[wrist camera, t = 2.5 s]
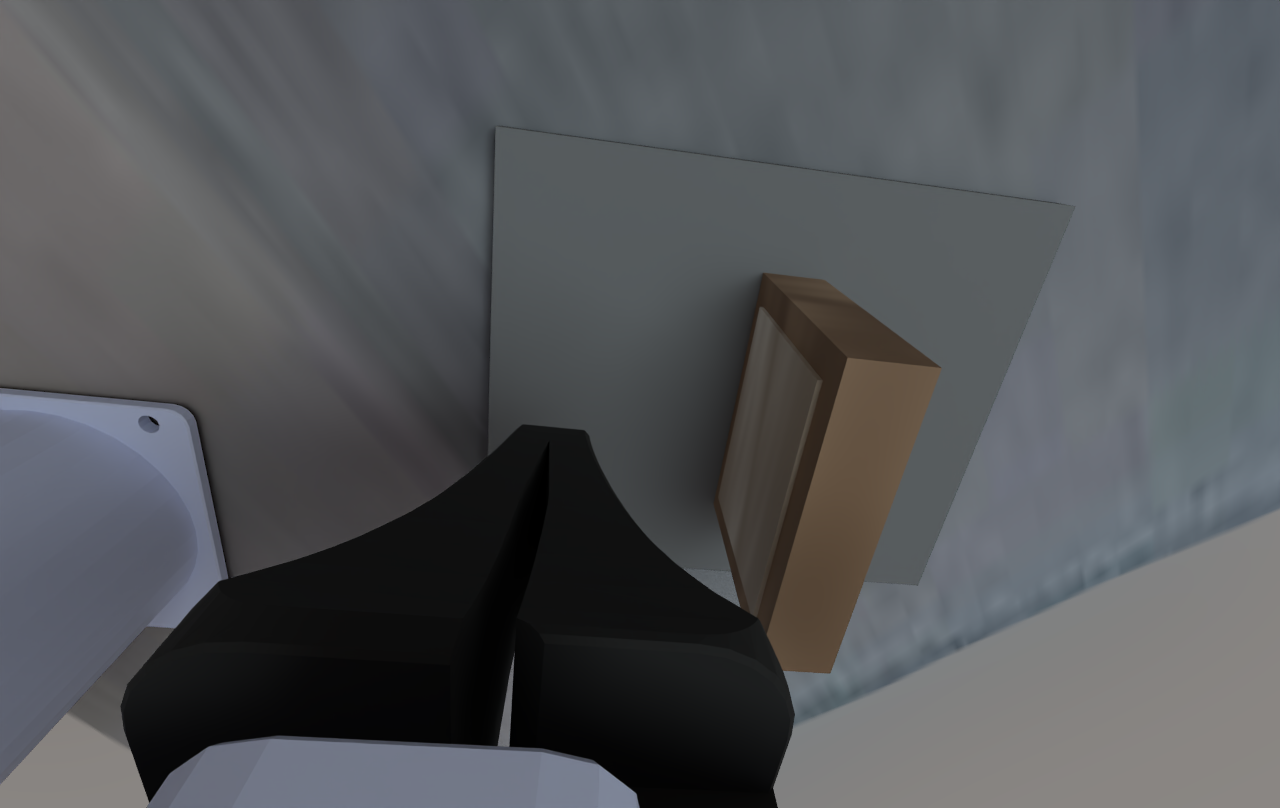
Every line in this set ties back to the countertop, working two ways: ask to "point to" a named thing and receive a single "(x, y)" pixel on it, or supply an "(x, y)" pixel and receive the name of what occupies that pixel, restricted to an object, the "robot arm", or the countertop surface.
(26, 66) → the countertop surface
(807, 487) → the slab
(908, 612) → the countertop surface
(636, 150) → the mat
